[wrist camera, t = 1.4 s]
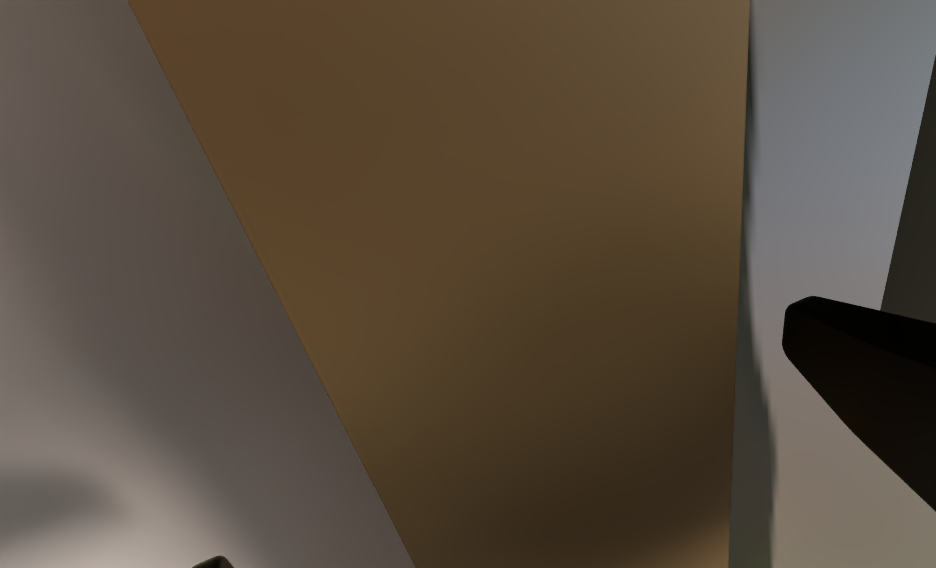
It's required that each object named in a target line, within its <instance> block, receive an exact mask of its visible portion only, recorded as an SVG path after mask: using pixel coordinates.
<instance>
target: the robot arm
mask: <svg viewBox="0 0 936 568" xmlns="http://www.w3.org/2000/svg"><path fill="white" fill-rule="evenodd" d="M782 346H783V350H784V352H785V354H786V356H787V357H788V359H789V360H790V361H791V362H792V364H793V365H794V366H795V367H796V368H797V369H798V370H799V372H800V373H801V374H802V375H803V376H804V377H805V379H806V380H807V381H808V382H809V383H810V384H811V385H812V387H813V388H814V389H815V390H816V391H817V392H818V394H819V395H820V396H821V397H822V398H823V399H824V400H825V402H826V403H827V404H828V405H829V406H830V407H831V408H832V410H833V411H834V412H835V413H836V414H837V415H838V416H839V418H840V419H841V420H842V421H843V422H844V423H845V424H846V425H847V427H848V428H849V429H850V430H851V431H852V432H853V433H854V434H855V435H856V436H857V437H858V438H859V439H860V440H861V441H862V442H863V443H864V444H865V445H866V446H867V447H868V448H869V449H870V450H871V451H873V452H874V453H875V454H876V455H877V456H878V457H879V458H880V459H881V460H882V461H883V462H884V463H885V464H886V465H887V466H888V467H889V468H890V469H891V470H893V472H895V473H896V474H897V475H898V476H899V477H900V478H901V479H902V480H903V481H904V482H905V483H906V484H907V485H908V486H909V487H910V488H911V489H912V490H913V491H915V492H916V493H917V494H918V495H919V496H920V497H921V498H922V499H923V500H924V501H925V502H926V503H927V504H928V505H929V506H930V507H931V508H933V510H935V511H936V323H932V322H928V321H923V320H919V319H915V318H910V317H906V316H901V315H897V314H893V313H888V312H884V311H879V310H874V309H870V308H865V307H862V306H857V305H852V304H848V303H844V302H839V301H835V300H831V299H826V298H822V297H817V296H810V297H806V298H804V299H801V300H799V301H797V302H795V303H792V304H791V305H789V306H788V308H787V309H786V311H785V319H784V328H783V338H782ZM192 568H234V567H233V566H232V565H231V563H230V562H229V561H228V560H227V559H226V558H225V557H223V556H216V557H213V558H211V559H209V560H206V561H204V562H202V563H200V564H197V565H195V566H194V567H192Z"/></svg>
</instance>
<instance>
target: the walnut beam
mask: <svg viewBox="0 0 936 568" xmlns="http://www.w3.org/2000/svg"><path fill="white" fill-rule="evenodd" d="M128 2H129V4H130V6H131V8H132V10H133V12H134V14H135V16H136V18H137V20H138V22H139V24H140V26H141V28H142V30H143V32H144V34H145V36H146V38H147V40H148V42H149V43H150V45H151V47H152V49H153V51H154V53H155V55H156V57H157V59H158V61H159V63H160V65H161V67H162V69H163V71H164V73H165V75H166V77H167V79H168V81H169V83H170V85H171V87H172V89H173V91H174V93H175V95H176V97H177V99H178V101H179V103H180V104H181V106H182V108H183V110H184V112H185V114H186V116H187V118H188V120H189V122H190V124H191V126H192V128H193V130H194V132H195V134H196V136H197V138H198V140H199V142H200V144H201V146H202V148H203V150H204V152H205V154H206V156H207V158H208V160H209V162H210V164H211V166H212V167H213V169H214V171H215V173H216V175H217V177H218V179H219V181H220V183H221V185H222V187H223V189H224V191H225V193H226V195H227V197H228V199H229V201H230V203H231V205H232V207H233V209H234V211H235V213H236V215H237V217H238V219H239V221H240V223H241V225H242V227H243V229H244V230H245V232H246V234H247V236H248V238H249V240H250V242H251V244H252V246H253V248H254V250H255V252H256V254H257V256H258V258H259V260H260V262H261V264H262V266H263V268H264V270H265V272H266V274H267V276H268V278H269V280H270V282H271V284H272V286H273V288H274V290H275V292H276V293H277V295H278V297H279V299H280V301H281V303H282V305H283V307H284V309H285V311H286V313H287V315H288V317H289V319H290V321H291V323H292V325H293V327H294V329H295V331H296V333H297V335H298V337H299V339H300V341H301V343H302V345H303V347H304V349H305V351H306V353H307V355H308V356H309V358H310V360H311V362H312V364H313V366H314V368H315V370H316V372H317V374H318V376H319V378H320V380H321V382H322V384H323V386H324V388H325V390H326V392H327V394H328V396H329V398H330V400H331V402H332V404H333V406H334V408H335V410H336V412H337V414H338V416H339V418H340V419H341V421H342V423H343V425H344V427H345V429H346V431H347V433H348V435H349V437H350V439H351V441H352V443H353V445H354V447H355V449H356V451H357V453H358V455H359V457H360V459H361V461H362V463H363V465H364V467H365V469H366V471H367V473H368V475H369V477H370V479H371V481H372V482H373V484H374V486H375V488H376V490H377V492H378V494H379V496H380V498H381V500H382V502H383V504H384V506H385V508H386V510H387V512H388V514H389V516H390V518H391V520H392V522H393V524H394V526H395V528H396V530H397V532H398V534H399V536H400V538H401V540H402V542H403V544H404V545H405V547H406V549H407V551H408V553H409V555H410V557H411V559H412V561H413V563H414V565H415V567H416V568H728V557H729V531H730V505H731V479H732V453H733V426H734V400H735V374H736V348H737V322H738V296H739V270H740V244H741V218H742V192H743V166H744V140H745V114H746V88H747V61H748V35H749V9H750V0H128Z"/></svg>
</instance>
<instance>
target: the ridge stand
mask: <svg viewBox="0 0 936 568" xmlns="http://www.w3.org/2000/svg"><path fill="white" fill-rule="evenodd" d="M880 311H884V312H888V313H893V314H897V315H901V316H906V317H910V318H915V319H919V320H923V321H928V322H932V323H936V57H935V61H934V66H933V71H932V75H931V80H930V84H929V89H928V93H927V98H926V103H925V107H924V112H923V117H922V121H921V126H920V130H919V135H918V139H917V144H916V149H915V153H914V158H913V162H912V168H911V172H910V177H909V181H908V185H907V190H906V195H905V200H904V204H903V209H902V213H901V218H900V223H899V227H898V231H897V236H896V241H895V245H894V250H893V254H892V259H891V264H890V268H889V273H888V277H887V282H886V287H885V291H884V296H883V300H882V305H881V310H880Z"/></svg>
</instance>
